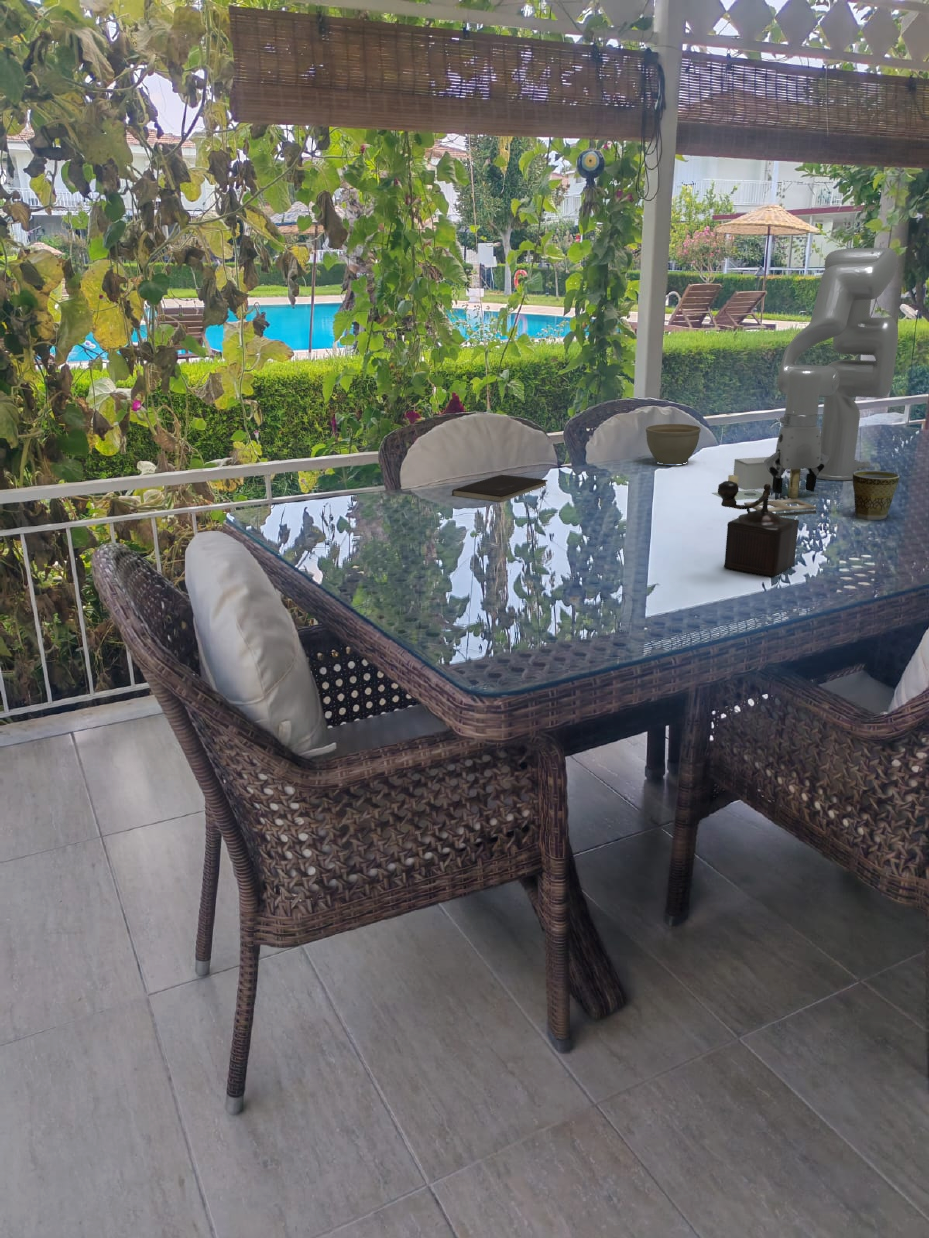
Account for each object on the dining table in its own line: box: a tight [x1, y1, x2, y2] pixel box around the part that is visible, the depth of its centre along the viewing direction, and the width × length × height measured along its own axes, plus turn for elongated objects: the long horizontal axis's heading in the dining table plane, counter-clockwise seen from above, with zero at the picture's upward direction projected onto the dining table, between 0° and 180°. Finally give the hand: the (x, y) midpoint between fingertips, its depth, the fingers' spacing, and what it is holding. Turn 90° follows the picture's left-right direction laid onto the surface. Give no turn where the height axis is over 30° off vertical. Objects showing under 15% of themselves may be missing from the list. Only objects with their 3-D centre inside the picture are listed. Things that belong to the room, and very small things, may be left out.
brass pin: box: [787, 469, 802, 499], centre depth 234 cm, size 2×2×9 cm
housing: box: [733, 456, 783, 491], centre depth 248 cm, size 10×7×8 cm
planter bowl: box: [645, 423, 702, 464], centre depth 285 cm, size 16×16×11 cm
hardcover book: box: [451, 474, 548, 503], centre depth 256 cm, size 16×23×2 cm
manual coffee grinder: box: [717, 480, 800, 578], centre depth 180 cm, size 16×11×18 cm
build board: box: [743, 498, 817, 517], centre depth 227 cm, size 14×9×2 cm, turn 102°
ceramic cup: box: [852, 469, 900, 521], centre depth 220 cm, size 13×10×10 cm
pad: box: [711, 474, 772, 501], centre depth 238 cm, size 12×9×6 cm
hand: (793, 491), depth 235 cm, fingers open, 8 cm apart
